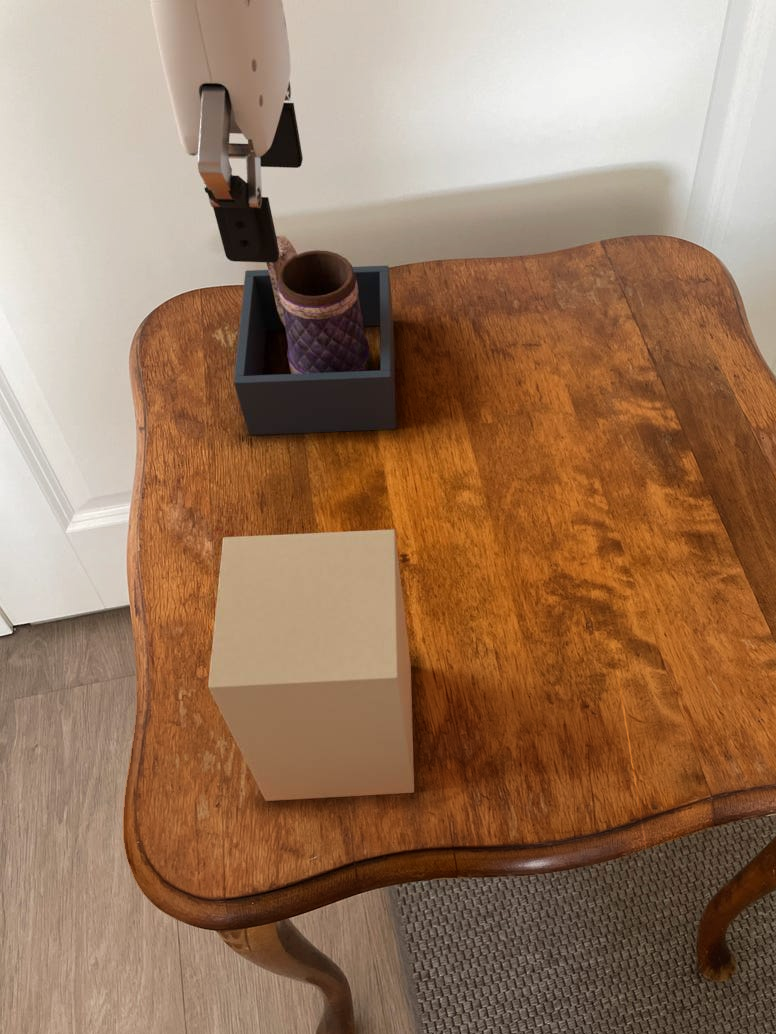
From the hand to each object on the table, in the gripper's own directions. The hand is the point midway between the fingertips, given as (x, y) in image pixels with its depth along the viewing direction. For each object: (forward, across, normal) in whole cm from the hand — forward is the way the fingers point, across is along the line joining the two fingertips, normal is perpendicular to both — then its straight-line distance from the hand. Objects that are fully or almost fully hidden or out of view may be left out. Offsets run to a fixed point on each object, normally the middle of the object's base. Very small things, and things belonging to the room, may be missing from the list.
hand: (267, 210), depth 60 cm
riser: (+23, +26, +5) cm, 35 cm away
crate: (+23, -10, -1) cm, 25 cm away
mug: (+23, -10, -1) cm, 25 cm away
